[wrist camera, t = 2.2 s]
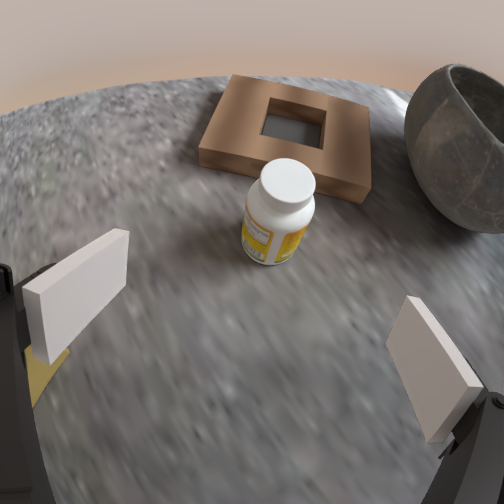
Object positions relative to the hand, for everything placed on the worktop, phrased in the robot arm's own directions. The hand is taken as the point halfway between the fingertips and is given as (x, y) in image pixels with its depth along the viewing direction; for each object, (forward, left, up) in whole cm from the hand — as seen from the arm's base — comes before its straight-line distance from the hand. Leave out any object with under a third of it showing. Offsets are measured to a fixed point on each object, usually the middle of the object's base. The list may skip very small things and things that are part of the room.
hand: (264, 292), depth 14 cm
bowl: (-22, -24, -14) cm, 36 cm away
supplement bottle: (0, -10, -14) cm, 17 cm away
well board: (0, -24, -14) cm, 28 cm away
